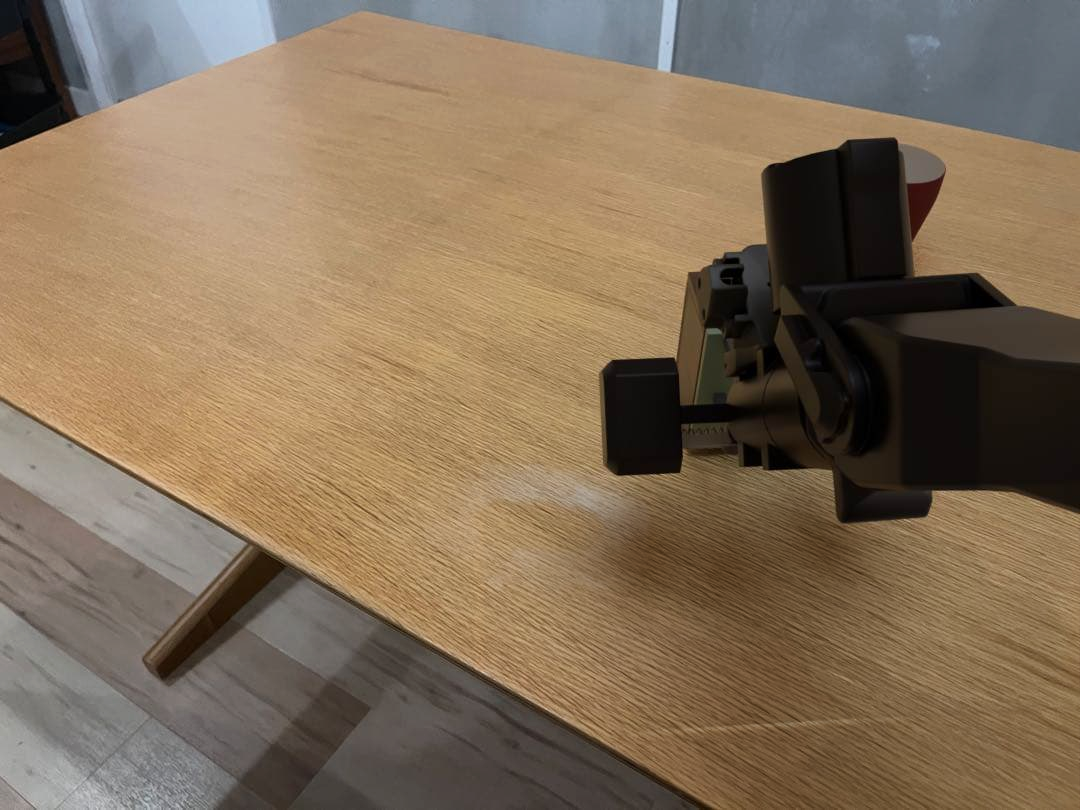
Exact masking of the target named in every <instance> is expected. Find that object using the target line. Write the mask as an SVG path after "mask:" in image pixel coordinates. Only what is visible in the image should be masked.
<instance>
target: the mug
mask: <svg viewBox="0 0 1080 810" xmlns="http://www.w3.org/2000/svg"><path fill="white" fill-rule="evenodd" d="M898 148H899V151H901V152H902V153H903V155H904V161H905V172H906V183H907V194H908V206H909V217H910V228H911V239H912V243H913V242H914V241H915V239H916V237H917V235H918V233H919V231H920V229H922V226H923V224H924V223H925V222H926V219H927V218H928V216H929V214H930V212H931V211H932V208H933V207H934V205H935V203H936V201H937V199H938V197H939V194H940V191H941V189H942V185H943V183H944V179H945V176H946V172H947V167H946V164H945V163H944V161H943V160H942V159H941V158H940V157H938V156H937V155H936V154H934V153H932V152H931V151H928V150H926V149H924V148H921V147H917V146H915V145H909V144H905V143H900V142H898Z"/></svg>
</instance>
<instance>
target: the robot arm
mask: <svg viewBox="0 0 1080 810" xmlns="http://www.w3.org/2000/svg"><path fill="white" fill-rule="evenodd" d="M898 143H899V141H898V139H897V138H896V137H894V136H890V137H889V136H888V137H870V138H852V139H846V141H844V142H843V143H841V144H840V145H839V146H838V147H836V148H831V149H827V150H821V151H817V152H812V153H809V154H804V155H802V156H801V155H800V156H798V157H795V158H792V159H789V160H787V161H783V162H774V163H770V164H768V165H767V166H766V167H764V168H763V170H762V171H761V173H760V181H761V192H762V193H761V194H762V205H763V217H764V229H765V241H766V243H758V244H755V243H754V244H750V245H747V246H745V247H744V248H742V250H741V251H725V252H724V253H723V255H722V257H721V258H720V257H719V258H713V259H712V262H711V264H709V265H705V266H703V267H702V268H701V269H700V270H699V271H700V273H699V276H698V279H697V282H696V295H697V302H698V309H699V316H700V323H701V325H702V326H703V327H704V328H717V329H719V330H720V331H721V333H722V337H723V339H729V338H732V345H733V350H731V351H729V352H726V353H724V366H725V376H726V377H734V382H735V383H734V384H733V385H732V387H731V389H730V391H729V394H728V398H727V403H723V404H700V405H680V386H679V372H678V368H677V364H676V357H675V356H673V357H671V356H669V357H647V358H646V357H643V358H621V359H619V358H618V359H611V360H610V361H608V362H607V363H606V365H605V366H604V367H603V368H602V369H601V370H600V371H599V372H598V383H599V384H598V385H599V386H598V387H599V403H600V404H599V406H600V407H599V408H600V427H601V429H600V430H601V451H602V465H603V466H604V467H605V469H607V470H608V471H609V472H610V473H611V474H612V475H614V476H617V477H626V476H649V475H669V474H670V475H671V474H672V475H673V474H681V471H682V466H683V458H684V449H689V448H688V447H710V446H733V445H738V455H737V457H738V467H740V468H757V467H758V468H759V467H761V470H762V471H769V472H770V471H771V472H773V471H792V470H793V471H794V470H814V469H817V470H823V471H824V470H826V471H832V472H831V473H832V485H833V491H834V492H833V494H834V496H833V497H834V506H835V515H836V519H837V522H839V523H840V524H843V525H847V524H860V523H863V524H864V523H874V522H875V523H876V522H887V521H901V520H912V519H913V520H914V519H924V518H927V517H928V515H929V513H930V511H931V507H932V504H933V492H942V491H943V492H951V491H952V492H957V491H958V492H960V491H961V492H967V491H968V492H971V491H972V492H976V491H977V492H978V491H979V492H985V491H986V492H1001V493H1013V494H1017V495H1020V496H1023V497H1027V498H1030V499H1032V500H1035V501H1038V502H1040V503H1041V502H1042V503H1044V504H1048V505H1050V506H1053V507H1056V508H1059V509H1062V510H1066V511H1069V512H1071V513H1074V514H1077V515H1080V318H1078V317H1073V316H1069V315H1065V314H1061V313H1057V312H1053V311H1049V310H1045V309H1042V308H1038V307H1033V306H1027V305H1018V304H1017V303H1015V302H1014V301H1013V300H1012V299H1011V298H1010V297H1008V296H1007V295H1006V294H1004V293H1003V292H1002V291H1001V290H1000V289H998V287H996V286H995V285H993V284H992V283H991V282H990V281H988V280H987V278H985V277H984V276H982V275H981V274H980V273H979V272H963V273H947V274H946V273H945V274H930V275H916V273H915V262H914V251H913V250H914V249H913V242H912V239H911V228H910V217H909V206H908V194H907V183H906V172H905V161H904V155H903V153H902V152H901V151H899V148H898ZM725 422H728V426H729V427H726V429H725V432H724V431H723V428H722V427H719V428H718V432H716V429H715V428H711V431H710V433H709V430H708V428H704V431H703V433H702V431H701V429H700V428H697V430H696V434H695V432H694V430H693V429H690V430H689V433H687V431H686V429H682V426H681V424H702V423H725ZM683 448H684V449H683Z"/></svg>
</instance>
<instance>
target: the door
mask: <svg viewBox="0 0 1080 810" xmlns="http://www.w3.org/2000/svg"><path fill="white" fill-rule="evenodd" d="M731 350H733V345H732V338H729V339H723V337H722V333H721V331H720V330H719V329H717V328H714V329H706V332H705V339H704V345H703V351H702V357H701V364H700V370H699V376H698V382H697V388H696V395H695V401H694V405H700V404H723V403H727V398H728V394H729V391H730V389H731V387H732V385H733V384H734V383H735V382H734V377H726V376H725V366H724V353H726V352H729V351H731ZM719 427H722V428H723V431H724V432H725V429H726V427H729V426H728V422H725V423H702V424H691V426H690V429H693V430H694V432H695V434H696V430H697V428H700V429H701V431H702V433H703V431H704V428H708V430H709V433H710V431H711V428H715V429H716V432H718V428H719ZM687 449H689V450H704V449H705V450H706V449H708V450H709V449H722V451H723V452H724V453H726V455H729V456H730V455H731V456H738V445H733V446H710V447H688V448H687Z"/></svg>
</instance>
